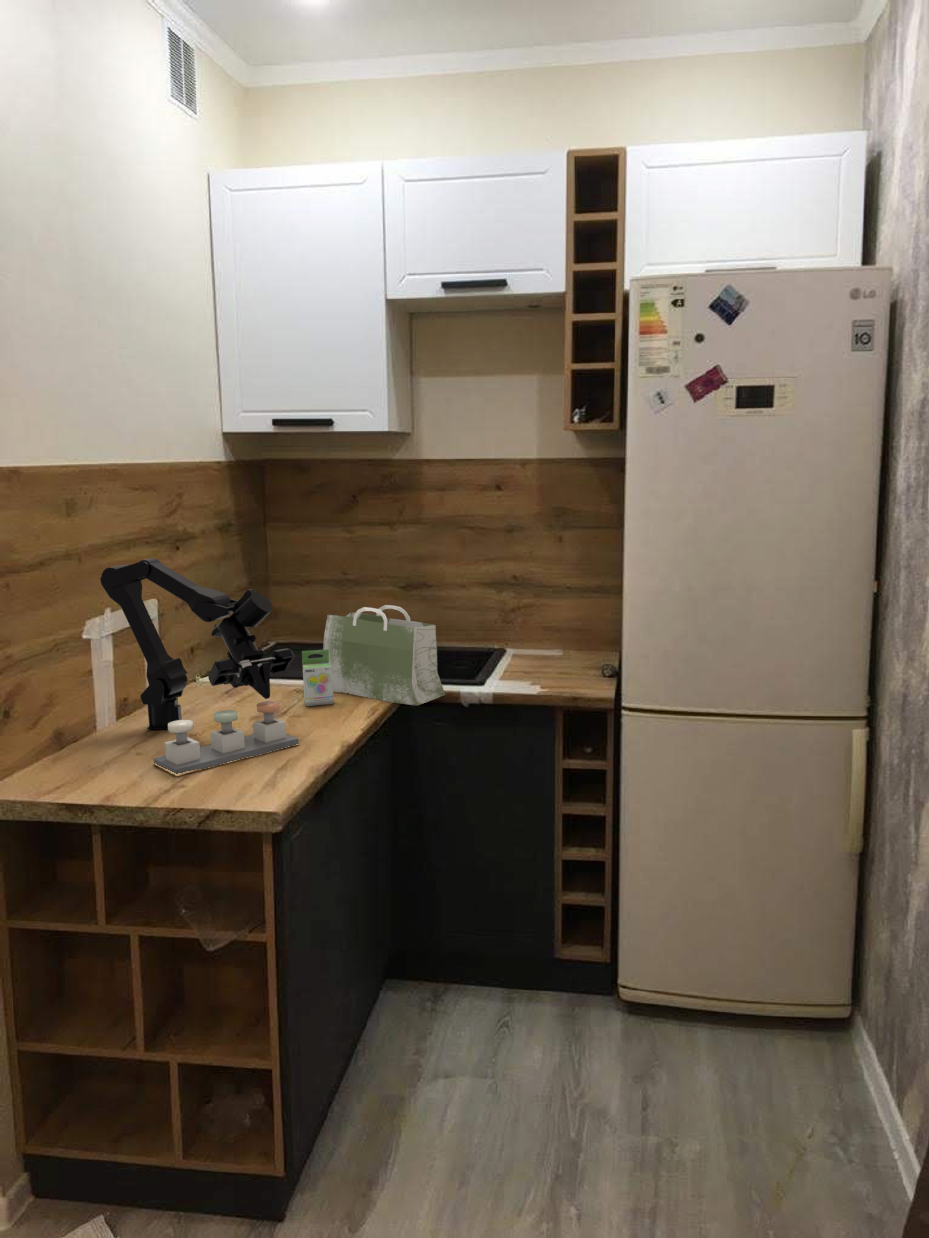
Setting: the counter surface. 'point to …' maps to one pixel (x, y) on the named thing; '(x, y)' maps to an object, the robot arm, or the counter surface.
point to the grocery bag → (383, 657)
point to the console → (225, 747)
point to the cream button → (180, 730)
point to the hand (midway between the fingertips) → (268, 697)
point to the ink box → (317, 678)
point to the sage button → (226, 720)
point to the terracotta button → (268, 710)
